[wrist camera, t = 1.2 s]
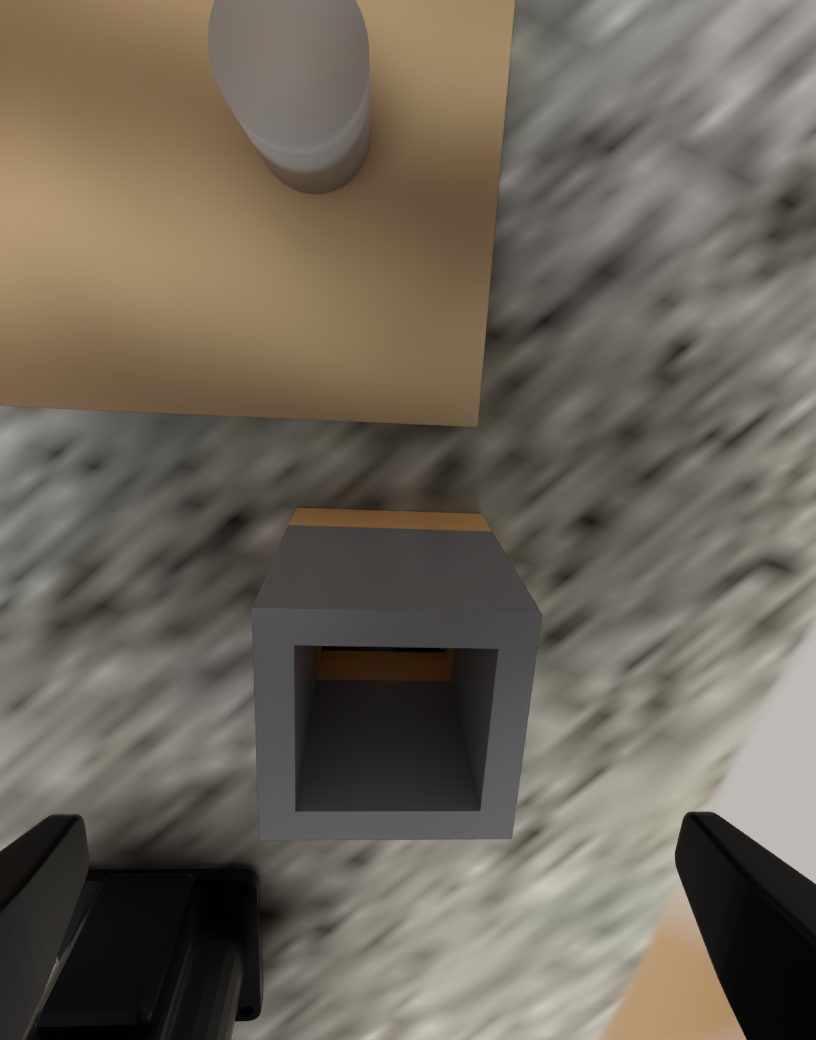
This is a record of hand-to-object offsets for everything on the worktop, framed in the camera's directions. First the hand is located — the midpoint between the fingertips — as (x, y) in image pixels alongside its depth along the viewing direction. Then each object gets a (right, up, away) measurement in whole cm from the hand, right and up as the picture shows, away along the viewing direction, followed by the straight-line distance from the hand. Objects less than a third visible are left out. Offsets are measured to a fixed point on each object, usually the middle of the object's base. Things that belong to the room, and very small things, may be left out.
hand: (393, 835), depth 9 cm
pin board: (-6, +13, +4) cm, 15 cm away
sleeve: (0, +3, +8) cm, 8 cm away
